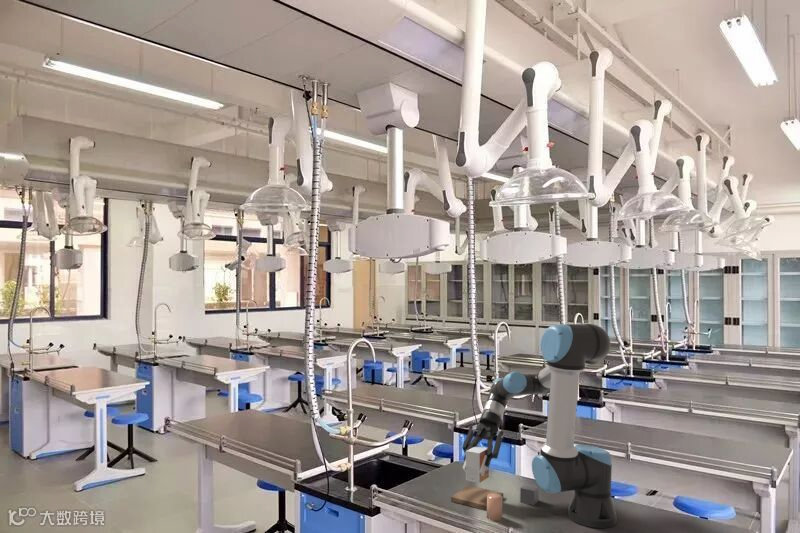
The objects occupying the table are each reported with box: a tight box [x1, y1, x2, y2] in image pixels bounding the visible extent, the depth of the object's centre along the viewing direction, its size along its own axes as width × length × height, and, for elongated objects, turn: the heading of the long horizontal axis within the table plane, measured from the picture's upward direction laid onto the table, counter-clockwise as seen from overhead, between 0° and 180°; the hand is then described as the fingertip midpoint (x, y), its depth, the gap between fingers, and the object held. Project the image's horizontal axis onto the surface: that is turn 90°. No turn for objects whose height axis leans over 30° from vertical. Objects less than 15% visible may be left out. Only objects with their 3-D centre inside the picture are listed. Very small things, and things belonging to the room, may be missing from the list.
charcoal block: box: [519, 483, 540, 506], centre depth 199 cm, size 5×5×5 cm
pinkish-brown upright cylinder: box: [486, 493, 503, 522], centre depth 184 cm, size 5×5×7 cm
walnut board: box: [450, 484, 504, 511], centre depth 199 cm, size 14×14×2 cm
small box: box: [465, 445, 490, 484], centre depth 200 cm, size 8×6×10 cm
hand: (472, 471), depth 197 cm, fingers closed on small box, 6 cm apart
